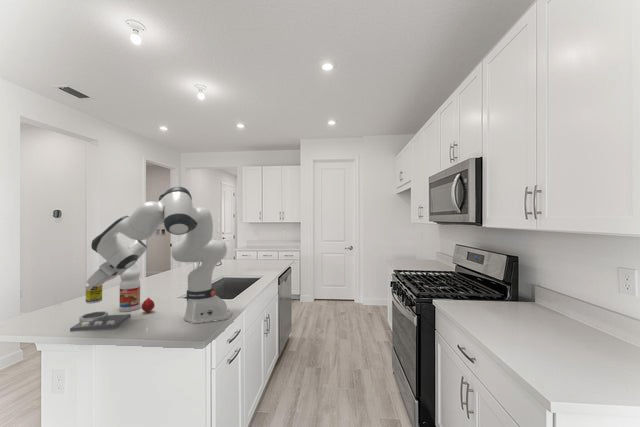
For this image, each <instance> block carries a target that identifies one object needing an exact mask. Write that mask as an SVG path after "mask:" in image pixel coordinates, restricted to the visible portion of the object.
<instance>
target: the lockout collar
mask: <svg viewBox="0 0 640 427" xmlns="http://www.w3.org/2000/svg"><path fill="white" fill-rule="evenodd" d="M108 315H109V311H106V310H105V311H93V312H89V313H84V314H83V315H81V316H79V317H78V318H79V321H78V323H81V324H82V323H84V322H90V324H94V323H95V322H96V321H102V322H103V321H105V320H106V319H108Z"/></svg>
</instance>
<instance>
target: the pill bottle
mask: <svg viewBox="0 0 640 427" xmlns="http://www.w3.org/2000/svg"><path fill="white" fill-rule="evenodd" d="M88 286H89V284H88V283H86V285H85V303H86V304H88V305H89V304H91V305H92V304H97V303H101V302H102V301H103V284H102V283H101V284H99V285H96V286H94V288H93V289H92V290H90V291H88V290H87V289H86V288H87V287H88Z"/></svg>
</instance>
